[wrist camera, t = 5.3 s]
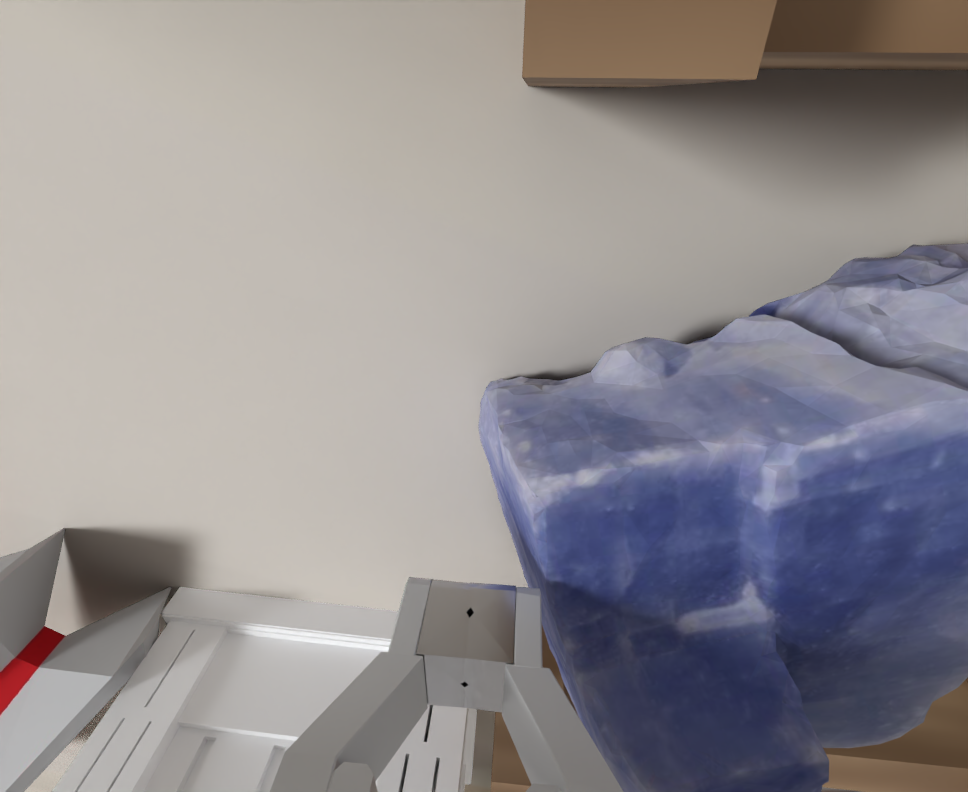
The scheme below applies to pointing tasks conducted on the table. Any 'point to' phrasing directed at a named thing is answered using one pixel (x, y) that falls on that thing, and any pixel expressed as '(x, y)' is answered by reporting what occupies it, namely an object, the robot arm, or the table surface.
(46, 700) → the toy gun
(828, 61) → the wooden brackets
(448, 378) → the table surface
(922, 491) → the mineral
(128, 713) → the castle model
